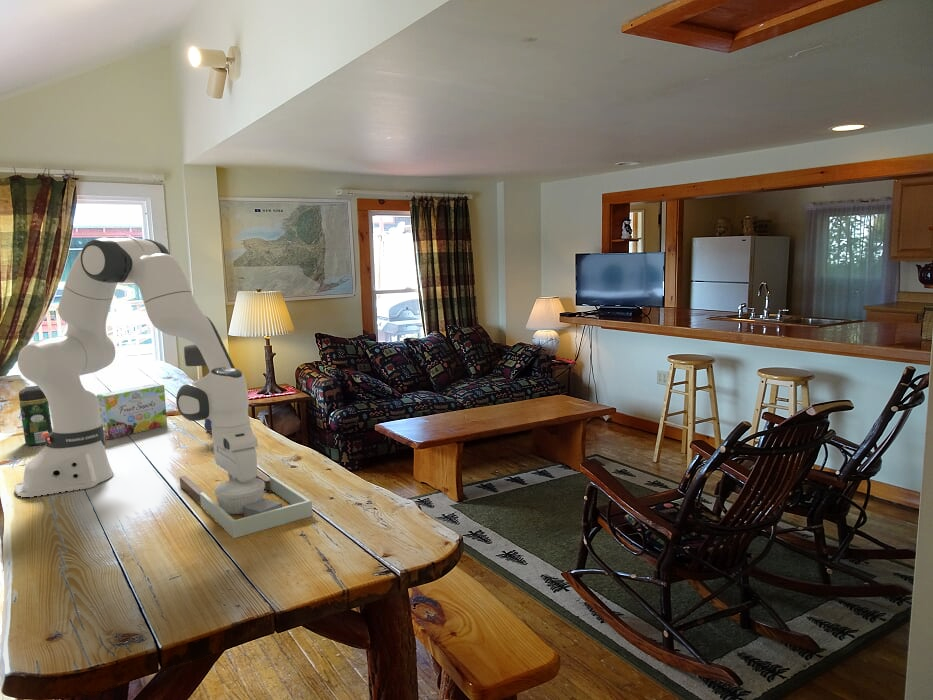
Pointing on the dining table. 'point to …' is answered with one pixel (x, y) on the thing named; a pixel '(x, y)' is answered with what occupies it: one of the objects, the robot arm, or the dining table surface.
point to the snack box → (132, 410)
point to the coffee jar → (34, 414)
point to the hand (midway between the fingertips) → (236, 489)
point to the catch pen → (265, 520)
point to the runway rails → (196, 491)
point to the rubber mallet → (196, 359)
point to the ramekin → (238, 494)
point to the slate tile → (261, 507)
